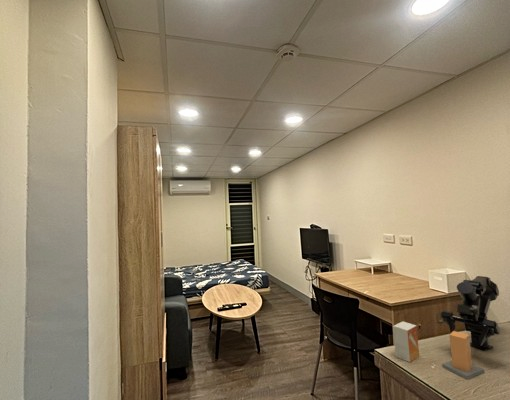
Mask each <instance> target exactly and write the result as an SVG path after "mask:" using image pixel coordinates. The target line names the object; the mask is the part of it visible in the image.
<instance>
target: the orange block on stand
mask: <svg viewBox="0 0 510 400" xmlns="http://www.w3.org/2000/svg"><path fill="white" fill-rule="evenodd" d="M449 343H450V351H451V361H452V363H453V367H456V368H459V369H462V370H465V371H468V372H469V371H470V369H471V368H472V364H473V361H472V351H471V346H470V343H471V339H470V335H469V334H467V333H463V332H459V331H456V330H455V331H453V332H452V333H451V332H450V334H449Z"/></svg>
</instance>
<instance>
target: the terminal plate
mask: <svg viewBox="0 0 510 400" xmlns="http://www.w3.org/2000/svg"><path fill="white" fill-rule="evenodd" d="M441 367H442V368H443V369H445V370H447V371H450V372H452V373H453V374H456V375H457V376H459V377H462V378H463V379H464V380H470V379H472V378H474V377H478V376H479V375H482V374H484V373H485V369H484V368H482V367H481V366H478V365H476V364H474V363H472V368H471V369H470V371H469V372H468V371H465V370H462V369H459V368H456V367H453V363H452V360H449V361H447V362H446V361H445V362H443V363H442V364H441Z"/></svg>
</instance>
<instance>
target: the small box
mask: <svg viewBox="0 0 510 400" xmlns="http://www.w3.org/2000/svg"><path fill="white" fill-rule="evenodd" d="M392 328H393V329H392V330H393V339H394V340H393V341H394V352H395V353H394V354H395V357H396V358H398V359H400V360H404V361H405V362H409V363H412V362H413V361H414V360H416V359H418V358H419V357H420V348H419V338H418V336H419V335H418V325H416V324H413V323H409V322H406V321H403V320H402V321H400V322H399V323H396V324H394V325H393V326H392Z"/></svg>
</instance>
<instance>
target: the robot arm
mask: <svg viewBox="0 0 510 400" xmlns="http://www.w3.org/2000/svg"><path fill="white" fill-rule="evenodd" d="M456 289H457V292H458V293H459V296H460V297H461V298H462V303H461V304H460V303H459V304H458V303H457V305H456V313H458V316H456V315H454V313H453V312H451V311H447V310H441V311H440V317H441V319H442V321H443V322H444V323H446V325H448V327H449V331H450V334H451V333H452V332H453V331H456V322H459V323H462V324H464V327H465V328H464V329H465V332H469V333H470V347H473V348H477V349H479V350H481V351H488V350H490V349H493V345H490V344H489V338H490V337H493V336H496V335H500V326H499V325H498V322H497V321H495V320H491V319H488V311H489V309H490V305H491V303H492V302H493V301H496V300H497V298H498V297H499V296H500V291H499V287H498V284H497V283H495V282H493V281H492V280H491V277H488V276H484V275H483V276H482V275H477V276H476V277H475V278H473V279H463V281H462V282H459V283H457V285H456Z"/></svg>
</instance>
